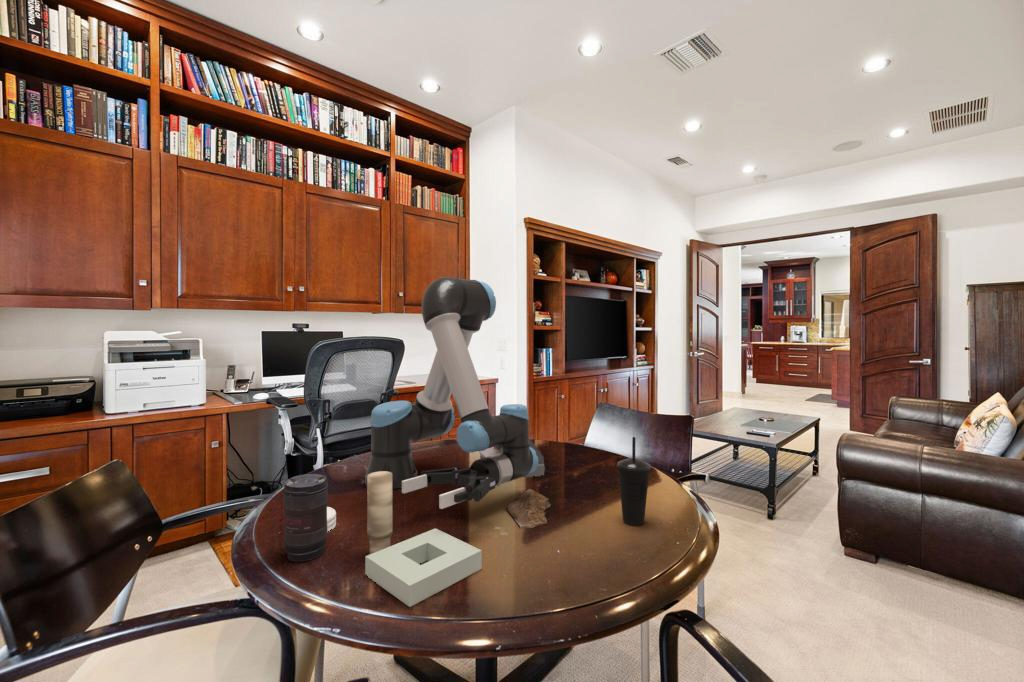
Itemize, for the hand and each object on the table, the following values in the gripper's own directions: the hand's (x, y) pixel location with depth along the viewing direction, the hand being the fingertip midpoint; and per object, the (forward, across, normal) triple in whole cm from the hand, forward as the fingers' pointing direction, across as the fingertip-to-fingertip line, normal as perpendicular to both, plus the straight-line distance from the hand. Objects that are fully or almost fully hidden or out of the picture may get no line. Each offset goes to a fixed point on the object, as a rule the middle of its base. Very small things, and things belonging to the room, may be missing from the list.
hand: (420, 494), depth 96 cm
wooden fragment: (-29, -6, -10) cm, 32 cm away
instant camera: (-50, +19, -10) cm, 54 cm away
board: (+8, -12, -10) cm, 17 cm away
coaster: (+14, +22, -10) cm, 28 cm away
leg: (+10, 0, -10) cm, 14 cm away
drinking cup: (-39, -30, -10) cm, 50 cm away
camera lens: (+20, +11, -10) cm, 25 cm away
